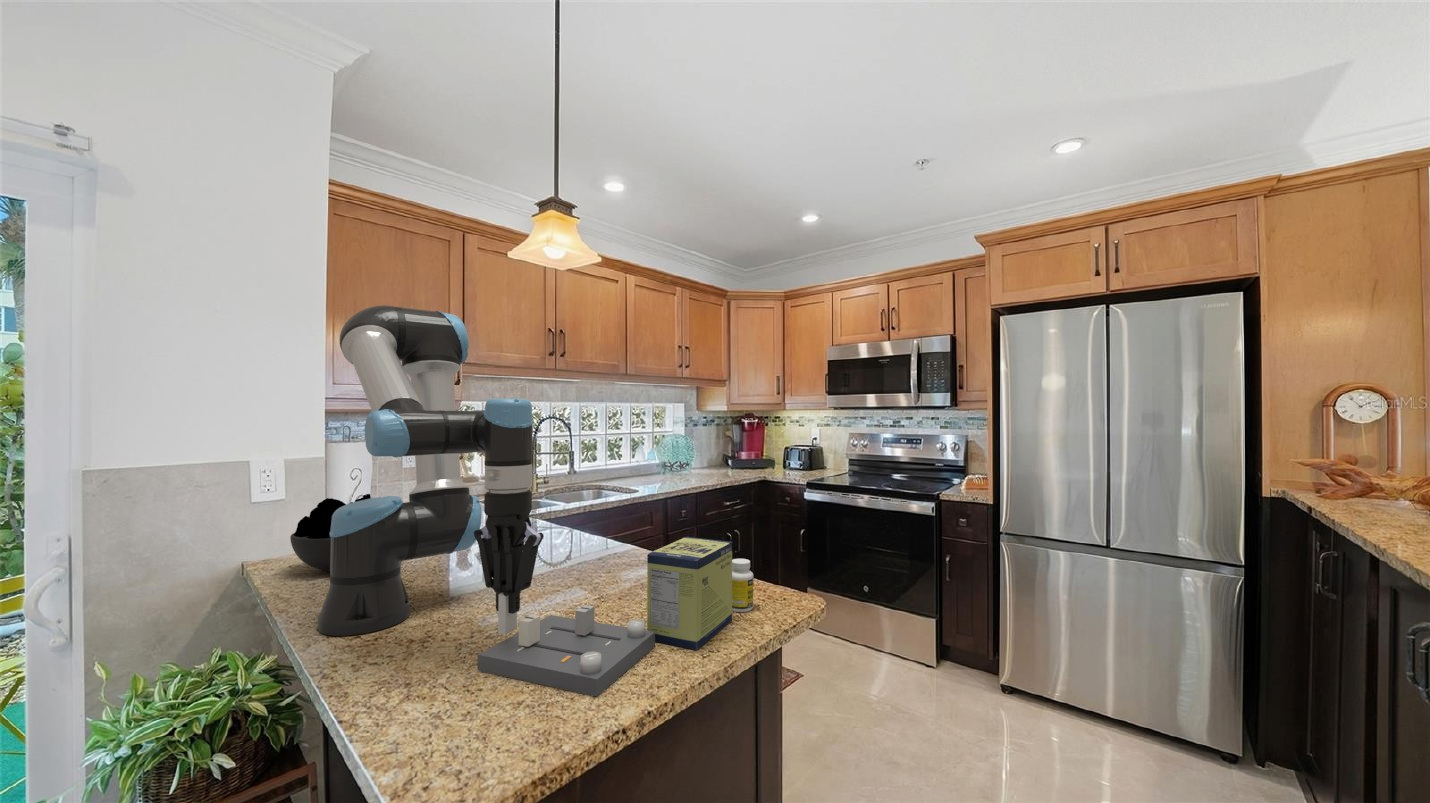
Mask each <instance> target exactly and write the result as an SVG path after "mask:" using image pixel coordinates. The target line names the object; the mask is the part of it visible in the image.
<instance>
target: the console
mask: <svg viewBox="0 0 1430 803" xmlns="http://www.w3.org/2000/svg"><path fill="white" fill-rule="evenodd" d="M626 625H627V626H621V625H620V626H619V625H616V624H608V623H602V622H596V621H594V630H593V631H592V632H590V633H589V634H587V635H585V636H583V635H578V634H575V618H572V617H566V616H558V615H553V614H550V615H548V616H546V617H545V618H543V619H540V640H539V641H537V642H536V643H534V644H532V645H531V646H529V647H526V646H521V645H518V643H519V632H517V633H515V634H513V635H512V636H510V637H507V638H505V639H504V640H502V641H500V642H499V643H496V644H495V645H493V646H491V647H489V648H488V649H485V650H484V651H482V652H480V653H479V654H477V671H478V672H483V673H487V674H490V675H491V674H492V675H496V676H500V677H506V678H510V679H513V680H514V679H515V680H519V681H523V682H527V683H533V684H535V685H536V684H537V685H540V686H541V685H542V686H546V687H550V688H556V689H560V690H564V691H569V692H574V693H578V694H583V695H587V696H591V697H596V698H597V697H599V696H600V695H601V694H602V693H603V692H604V691H606V690H607V689H608V688H609V687H611V685H613V683H615V682H616V681H618V679H619V678H620V677H622V676H623V675H624V674H625V673H627V671H629V670H630V669H631V668H632V667H633V666H635V665H636V664H637V663H638V662H639V661H641V659H642V658H644V657H645V656H646V655H647V654H648V653H650V651H651V650H653V649H654V648H656V642H655V632H652V631H647V629H646V621H645V620H642V619H632V620H629V621H628V622H627V624H626Z"/></svg>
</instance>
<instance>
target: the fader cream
mask: <svg viewBox="0 0 1430 803" xmlns="http://www.w3.org/2000/svg"><path fill="white" fill-rule="evenodd" d="M540 621H541V616H540V615H537V614H531V613H530V614H528V615H525V616H524V617H522V618H520V619H519V620H518V633H519V643H518V645H521V646H526V647H529V646H531V645H532V644H534V643H536V642H537V641H539V640H540Z"/></svg>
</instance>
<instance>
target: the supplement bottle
mask: <svg viewBox="0 0 1430 803" xmlns="http://www.w3.org/2000/svg"><path fill="white" fill-rule="evenodd" d="M750 568H751V560H749V559H746V558H732V612H736V613H746V612H751V611H752V610H753V608H754V573H753V572H752V571H751V570H750Z"/></svg>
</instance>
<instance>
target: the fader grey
mask: <svg viewBox="0 0 1430 803" xmlns="http://www.w3.org/2000/svg"><path fill="white" fill-rule="evenodd" d="M574 613H575V614H574V615H575V616H574V619H575V634H578V635H583V636H585V635H587V634H589V633H590V632H592V631H593V630H594V622H595V606H593V605H586V604H584V605H583V606H581V607H579V608H577V609H575V612H574Z"/></svg>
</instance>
